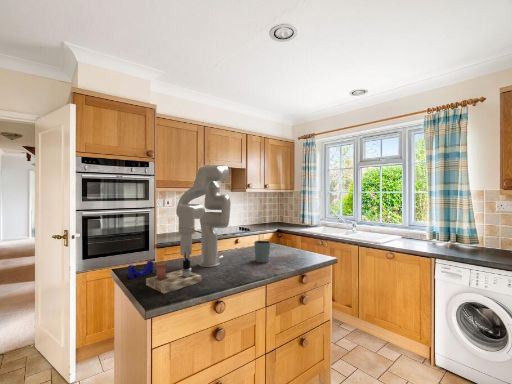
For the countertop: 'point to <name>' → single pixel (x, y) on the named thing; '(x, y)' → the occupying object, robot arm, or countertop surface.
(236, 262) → the countertop surface
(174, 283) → the board
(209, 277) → the countertop surface
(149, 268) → the cable clip
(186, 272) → the grey plug
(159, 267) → the red plug
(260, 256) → the drinking glass
